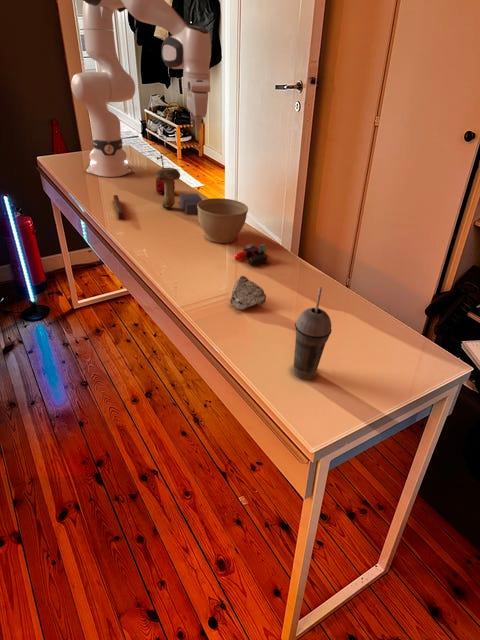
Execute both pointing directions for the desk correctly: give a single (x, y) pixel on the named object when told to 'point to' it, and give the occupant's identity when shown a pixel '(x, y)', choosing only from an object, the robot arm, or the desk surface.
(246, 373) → the desk surface
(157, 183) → the red clay folk toy
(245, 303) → the rock sample
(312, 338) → the beverage cup
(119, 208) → the ledge
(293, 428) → the desk surface
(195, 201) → the block
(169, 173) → the mushroom
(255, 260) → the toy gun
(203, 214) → the planter bowl
